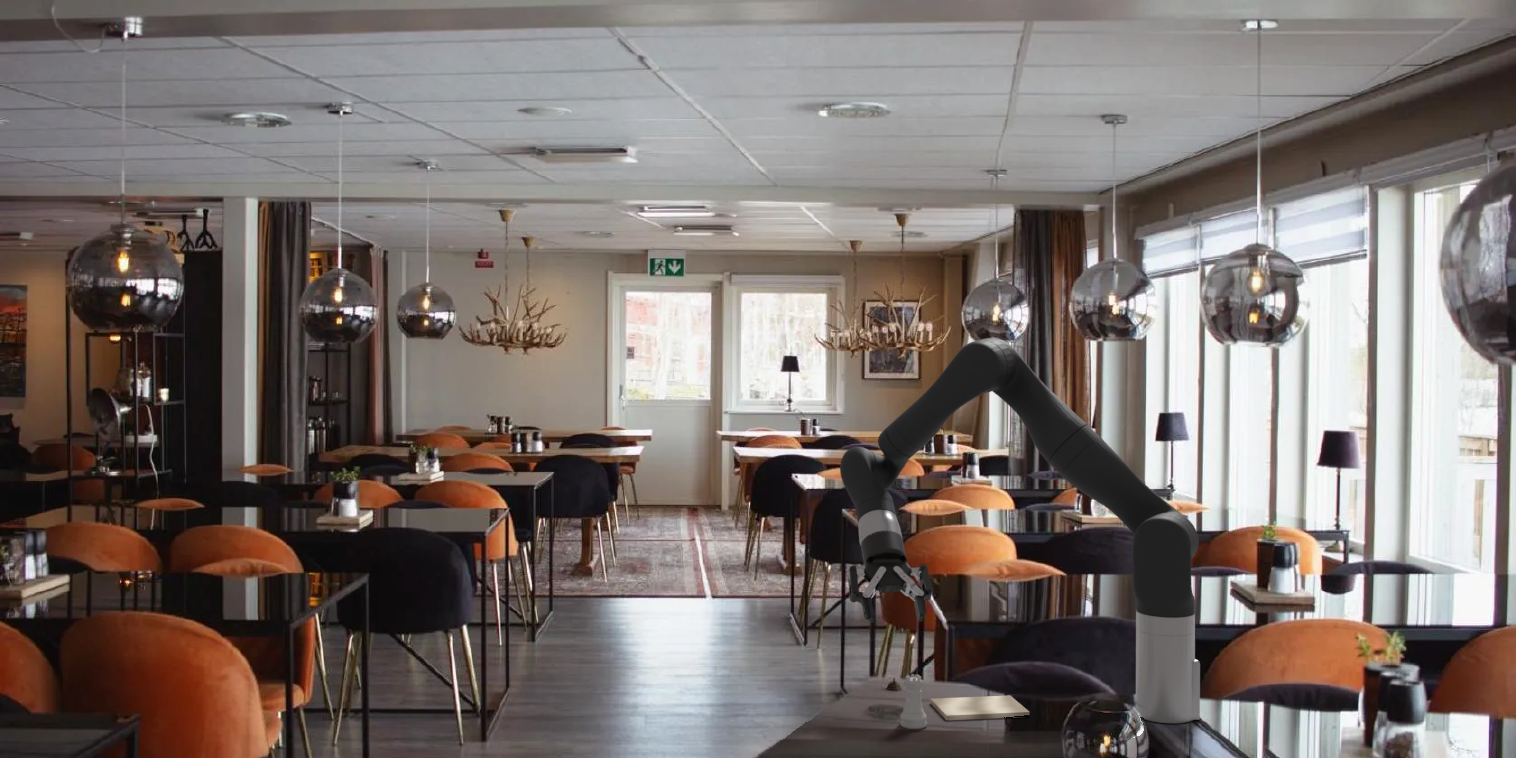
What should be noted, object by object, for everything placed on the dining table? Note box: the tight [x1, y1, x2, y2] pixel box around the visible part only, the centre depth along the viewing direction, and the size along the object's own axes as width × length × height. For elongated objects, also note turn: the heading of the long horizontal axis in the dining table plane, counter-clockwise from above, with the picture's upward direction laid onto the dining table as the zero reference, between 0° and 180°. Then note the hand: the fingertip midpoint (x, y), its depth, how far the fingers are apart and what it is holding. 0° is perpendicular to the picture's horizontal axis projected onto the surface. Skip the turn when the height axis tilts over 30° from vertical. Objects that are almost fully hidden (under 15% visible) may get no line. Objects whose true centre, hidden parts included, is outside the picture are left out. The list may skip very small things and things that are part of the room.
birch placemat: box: [930, 695, 1030, 721], centre depth 217 cm, size 14×10×1 cm
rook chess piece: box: [899, 674, 928, 730], centre depth 209 cm, size 4×4×8 cm
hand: (896, 619), depth 220 cm, fingers open, 8 cm apart
